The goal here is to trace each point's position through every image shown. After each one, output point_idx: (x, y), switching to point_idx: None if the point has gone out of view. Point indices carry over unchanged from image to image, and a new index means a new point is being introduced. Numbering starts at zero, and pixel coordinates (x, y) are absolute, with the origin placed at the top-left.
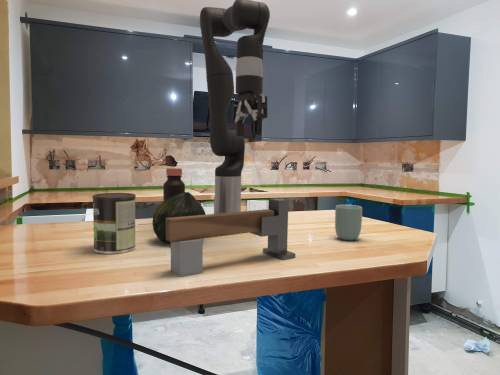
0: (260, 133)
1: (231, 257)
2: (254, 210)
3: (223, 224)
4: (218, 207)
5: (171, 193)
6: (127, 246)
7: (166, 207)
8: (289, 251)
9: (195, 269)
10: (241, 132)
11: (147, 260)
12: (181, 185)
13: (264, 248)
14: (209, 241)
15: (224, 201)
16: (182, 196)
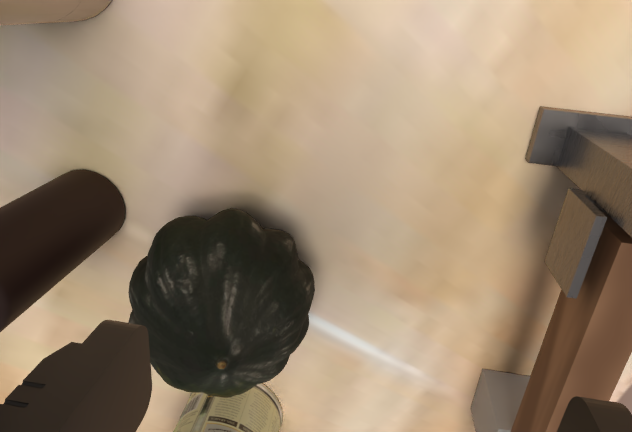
0: (626, 423)
1: (493, 262)
2: (600, 298)
3: None
4: (26, 22)
5: (31, 304)
6: (277, 414)
7: (236, 394)
8: (628, 118)
9: None
10: (119, 389)
11: (371, 405)
12: (3, 286)
13: (534, 159)
14: (298, 202)
15: (29, 6)
16: (232, 376)
